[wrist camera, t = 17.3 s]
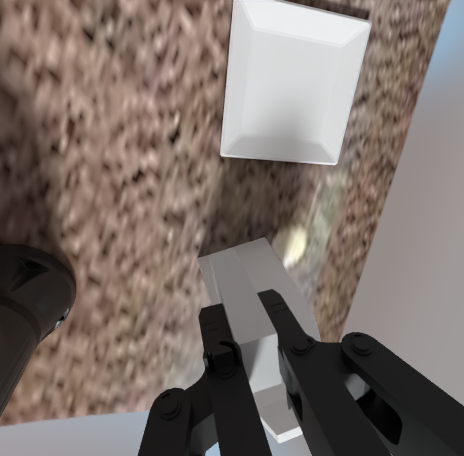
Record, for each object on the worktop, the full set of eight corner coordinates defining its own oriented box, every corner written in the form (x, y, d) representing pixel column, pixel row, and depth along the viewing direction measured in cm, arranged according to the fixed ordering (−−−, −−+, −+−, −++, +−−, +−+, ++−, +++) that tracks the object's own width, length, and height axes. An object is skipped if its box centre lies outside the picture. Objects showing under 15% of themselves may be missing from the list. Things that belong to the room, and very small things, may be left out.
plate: (330, 163, 44) (337, 165, 42) (217, 154, 39) (220, 156, 38) (363, 25, 37) (373, 20, 35) (230, -6, 32) (235, -13, 31)
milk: (214, 309, 50) (257, 482, 27) (197, 258, 45) (232, 416, 22) (274, 289, 51) (365, 436, 28) (264, 237, 46) (365, 364, 23)
